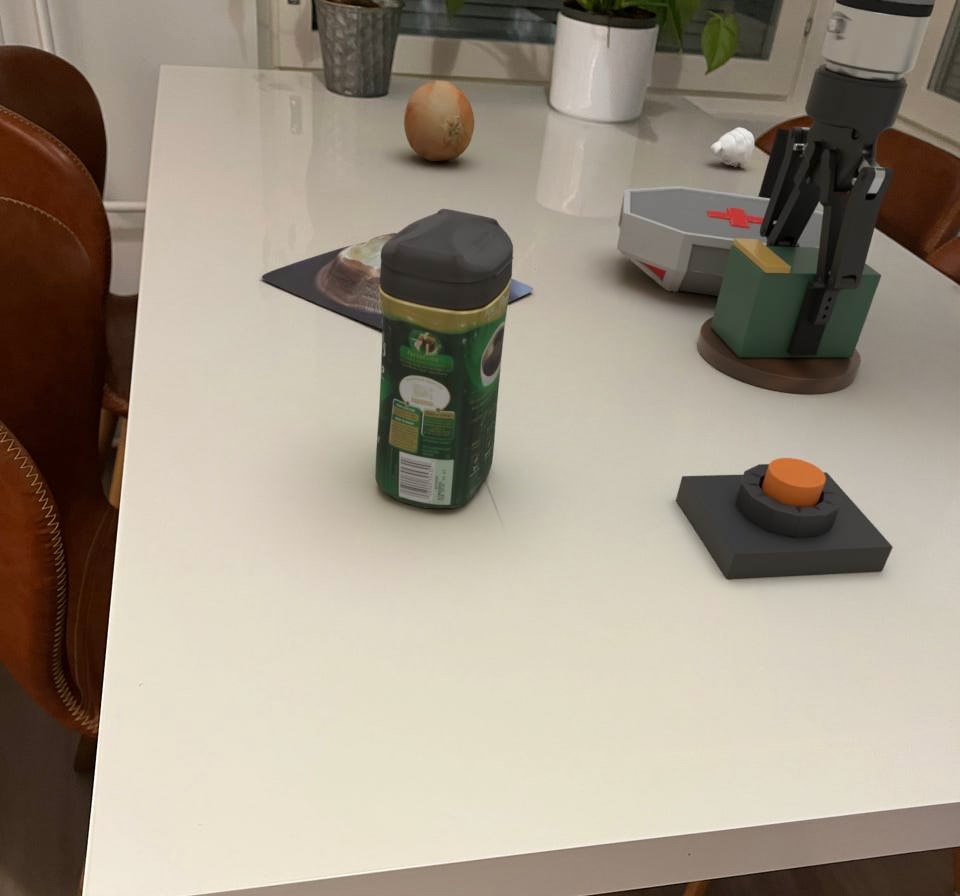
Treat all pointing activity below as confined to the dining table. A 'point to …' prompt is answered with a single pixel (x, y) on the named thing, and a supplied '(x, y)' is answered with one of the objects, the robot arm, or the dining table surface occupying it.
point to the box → (783, 302)
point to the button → (793, 482)
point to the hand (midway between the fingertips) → (782, 335)
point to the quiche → (348, 280)
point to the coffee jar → (441, 356)
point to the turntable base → (779, 367)
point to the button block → (779, 529)
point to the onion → (439, 121)
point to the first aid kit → (692, 233)
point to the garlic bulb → (735, 147)
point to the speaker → (774, 163)
